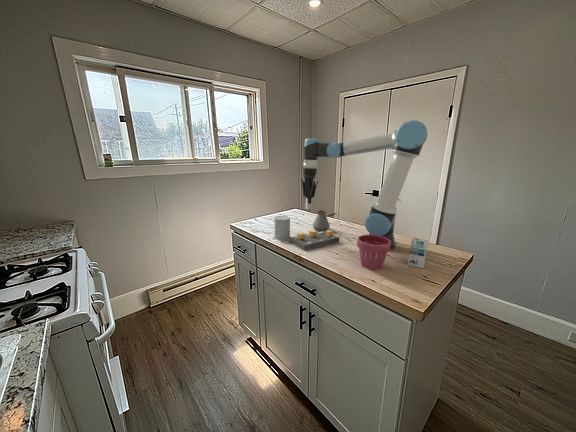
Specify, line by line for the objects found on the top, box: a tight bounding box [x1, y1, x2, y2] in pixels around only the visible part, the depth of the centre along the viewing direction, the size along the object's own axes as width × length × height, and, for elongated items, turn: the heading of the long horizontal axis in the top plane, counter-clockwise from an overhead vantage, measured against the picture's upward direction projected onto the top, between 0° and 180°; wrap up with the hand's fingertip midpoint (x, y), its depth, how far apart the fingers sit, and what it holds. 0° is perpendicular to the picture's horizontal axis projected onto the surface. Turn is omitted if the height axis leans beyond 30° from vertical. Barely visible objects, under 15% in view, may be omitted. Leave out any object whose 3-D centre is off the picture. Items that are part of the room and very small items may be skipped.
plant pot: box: [356, 234, 391, 271], centre depth 107 cm, size 14×14×13 cm
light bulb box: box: [407, 237, 429, 269], centre depth 111 cm, size 11×7×11 cm, turn 148°
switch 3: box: [325, 229, 334, 237], centre depth 138 cm, size 3×3×3 cm
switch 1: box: [296, 231, 306, 239], centre depth 133 cm, size 3×3×3 cm
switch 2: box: [308, 229, 318, 237], centre depth 138 cm, size 3×3×3 cm
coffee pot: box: [312, 209, 339, 232], centre depth 154 cm, size 21×12×15 cm, turn 26°
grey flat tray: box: [289, 230, 340, 251], centre depth 137 cm, size 14×25×3 cm, turn 122°
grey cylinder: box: [273, 215, 291, 241], centre depth 143 cm, size 10×10×12 cm
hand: (307, 208), depth 138 cm, fingers closed
